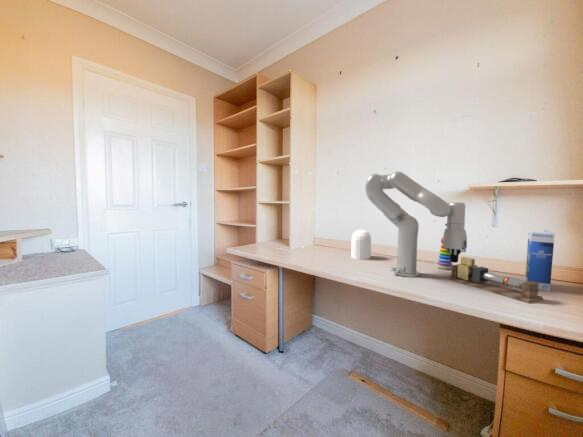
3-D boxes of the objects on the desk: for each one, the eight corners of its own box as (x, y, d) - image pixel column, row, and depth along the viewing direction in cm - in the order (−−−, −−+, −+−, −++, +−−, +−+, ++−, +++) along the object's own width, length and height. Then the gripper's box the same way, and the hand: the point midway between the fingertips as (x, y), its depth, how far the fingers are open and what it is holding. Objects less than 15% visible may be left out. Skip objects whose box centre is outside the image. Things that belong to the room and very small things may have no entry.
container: (374, 257, 175) (374, 229, 174) (365, 260, 166) (365, 230, 164) (356, 254, 185) (357, 227, 183) (347, 257, 175) (347, 229, 174)
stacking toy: (455, 270, 143) (457, 237, 141) (441, 270, 143) (443, 237, 142) (447, 266, 151) (448, 235, 149) (434, 266, 151) (435, 235, 149)
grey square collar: (472, 281, 117) (472, 268, 117) (480, 279, 119) (481, 266, 119) (479, 282, 114) (479, 269, 114) (487, 281, 116) (488, 268, 116)
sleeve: (457, 277, 123) (458, 257, 123) (466, 275, 126) (467, 256, 125) (467, 280, 119) (468, 260, 118) (476, 278, 121) (477, 258, 121)
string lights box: (524, 281, 123) (528, 229, 121) (546, 284, 118) (550, 230, 116) (527, 288, 113) (530, 231, 111) (551, 292, 108) (555, 233, 106)
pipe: (454, 272, 126) (454, 265, 126) (459, 272, 128) (459, 264, 127) (528, 292, 98) (529, 283, 98) (534, 291, 100) (534, 282, 100)
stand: (447, 278, 127) (447, 265, 126) (460, 276, 130) (460, 263, 130) (528, 303, 96) (529, 285, 96) (542, 299, 100) (543, 282, 99)
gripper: (436, 225, 132) (435, 259, 134) (465, 228, 119) (464, 266, 120) (446, 225, 135) (445, 258, 136) (475, 227, 121) (474, 264, 123)
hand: (454, 261), depth 128 cm, fingers closed
